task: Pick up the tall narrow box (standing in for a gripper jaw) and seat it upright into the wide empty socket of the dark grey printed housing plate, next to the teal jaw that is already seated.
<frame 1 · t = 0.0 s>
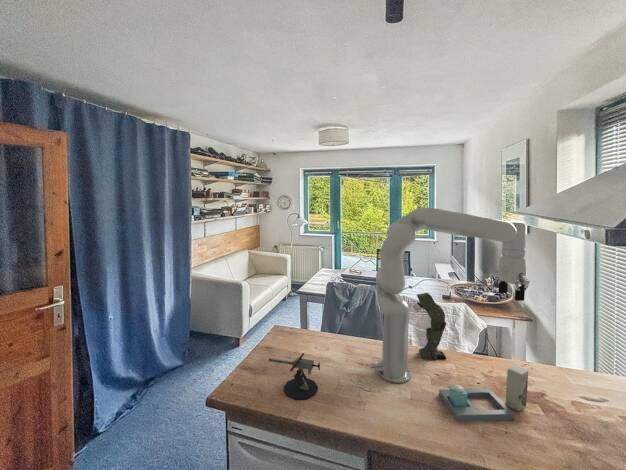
hand: (510, 296, 118), 31 cm above the kitchen counter, fingers open, 9 cm apart
mechanical leg: (430, 356, 135), on the kitchen counter
box: (515, 406, 101), on the kitchen counter
housing: (474, 406, 101), on the kitchen counter
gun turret: (293, 388, 112), on the kitchen counter
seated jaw: (457, 407, 101), resting in housing
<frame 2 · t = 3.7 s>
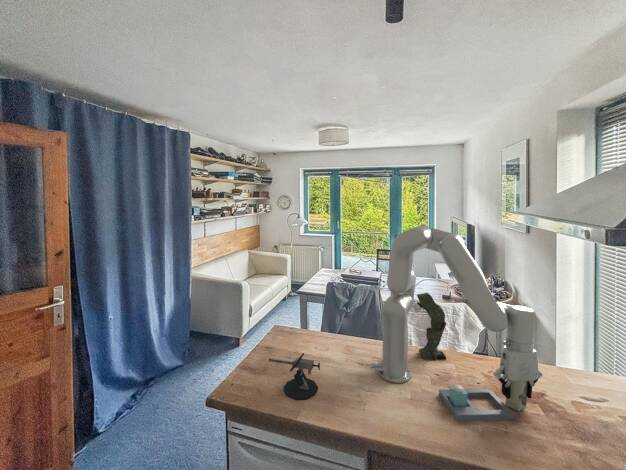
hand: (516, 395, 101), 4 cm above the kitchen counter, fingers closed on box, 6 cm apart
box: (515, 406, 101), on the kitchen counter, touching gripper
everything else where it was.
when the fingers open (4 cm above the kitchen counter, at t = 9.6 s): box stays where it is, resting in housing.
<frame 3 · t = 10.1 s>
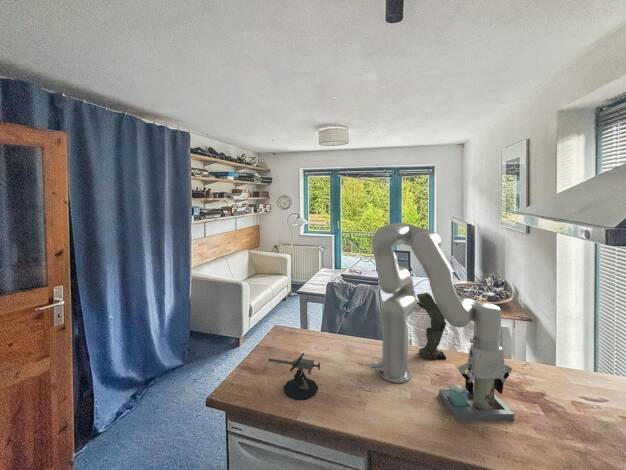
hand: (483, 391, 100), 5 cm above the kitchen counter, fingers open, 9 cm apart
box: (483, 406, 101), resting in housing
everything else where it was.
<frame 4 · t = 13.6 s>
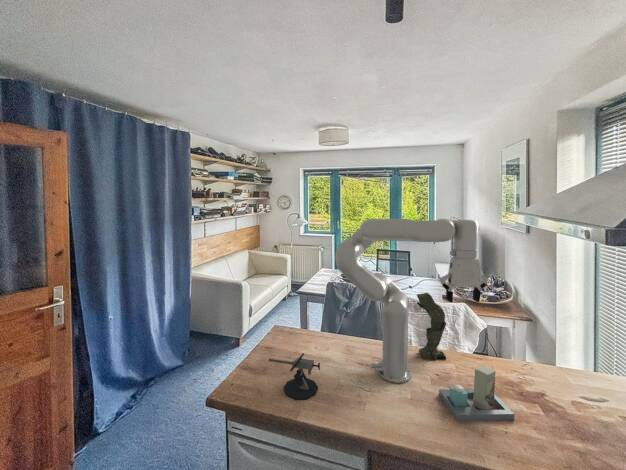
hand: (462, 301, 110), 32 cm above the kitchen counter, fingers open, 9 cm apart
nothing on the kitchen counter moved.
at the end: box inside the target area on the housing (0.1 cm from its centre), point 0.0 cm above the housing's base; box tilted 0°; the gripper is holding nothing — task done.
